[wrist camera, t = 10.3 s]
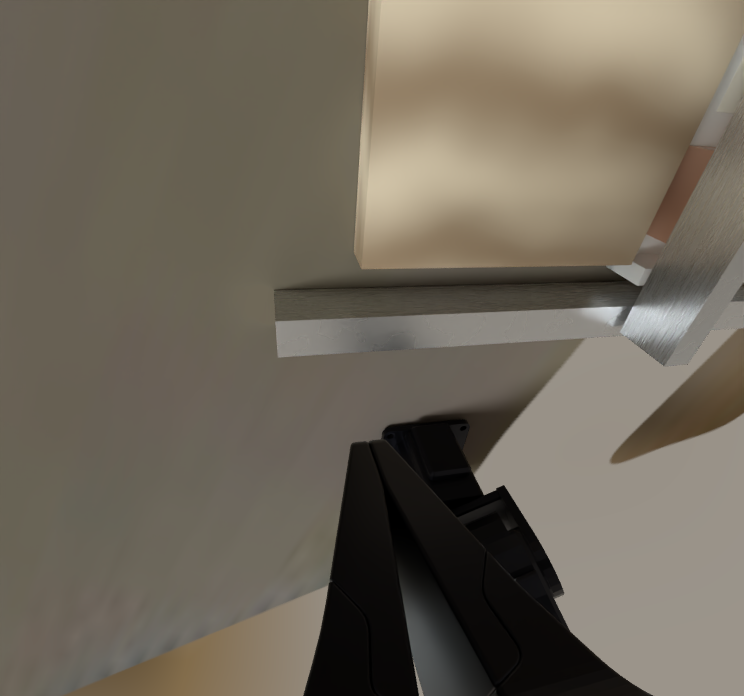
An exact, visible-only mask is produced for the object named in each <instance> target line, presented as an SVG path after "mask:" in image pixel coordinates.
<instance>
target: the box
mask: <svg viewBox="0 0 744 696" xmlns="http://www.w3.org/2000/svg"><path fill="white" fill-rule="evenodd" d="M743 57H744V34H743V37H742V39H741V41H740V43H739V45H738V47H737V49H736V51H735V53H734V55H733V57H732V59H731V61H730V63H729V65H728V67H727V69H726V71H725V73H724V76H723V78H722V80H721V82H720V84H719V86H718V88H717V90H716V92H715V94H714V96H713V98H712V100H711V102H710V104H709V106H708V108H707V110H706V112H705V115H704V117H703V119H702V121H701V123H700V125H699V127H698V129H697V131H696V133H695V135H694V137H693V139H692V141H691V143H690V145H694V146H709V147H717V145H718V143H719V141H720V139H721V137H722V135H723V133H724V131H725V130H726V128H727V126H728V124H729V122H730V120H731V118H732V116H733V114H732V113H724V112H716V111H717V109H718V107H719V105H720V103H721V101H722V99H723V97H724V95H725V93H726V91H727V89H728V87H729V85H730V83H731V81H732V79H733V77H734V75H735V73H736V71H737V69H738V67H739V65H740V63H741V61H742V59H743ZM665 244H666V243H664V242H662V241H660V240H657V239H655V238H653V237H651V236H649V235H647V234H646V236H645V238H644V240H643V242H642V244H641V246H640V248H639V250H638V252H637V254H636V256H635V258H634V260H633V262H632V264H631V265H607V266H606V267H607V268H609V269H611V270H612V271H614V272H616V273H617V274H619V275H620V276H622V277H624V278H625V279H627V280H629V281H630V282H632V283H634V284H635V285H637V286H642V285H644V284H645V282H646V281H647V279H648V277H649V275H650V273H651V271H652V269H653V267H654V265H655V263H656V261H657V260H658V258H659V256H660V254H661V252H662V250H663V248H664V246H665ZM743 283H744V282H743Z"/></svg>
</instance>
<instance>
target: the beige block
mask: <svg viewBox="0 0 744 696" xmlns="http://www.w3.org/2000/svg"><path fill="white" fill-rule="evenodd" d="M743 95H744V57H743V59H742V61H741V63H740V65H739V67H738V69H737V71H736V73H735V75H734V77H733V79H732V81H731V83H730V85H729V87H728V89H727V91H726V93H725V95H724V97H723V99H722V101H721V103H720V105H719V107H718V109H717V111H716V112H724V113H732V114H734V112H735V110H736V108H737V107H738V105H739V103H740V101H741V99H742V97H743Z"/></svg>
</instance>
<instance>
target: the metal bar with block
mask: <svg viewBox="0 0 744 696" xmlns="http://www.w3.org/2000/svg"><path fill="white" fill-rule="evenodd" d="M743 282H744V95H743V97H742V99H741V101H740V103H739V105H738V107H737V108H736V110H735V112H734V114H733V116H732V118H731V120H730V122H729V124H728V126H727V128H726V130H725V131H724V133H723V135H722V137H721V139H720V141H719V143H718V145H717V147H716V149H715V151H714V152H713V154H712V156H711V158H710V160H709V162H708V164H707V166H706V168H705V170H704V172H703V173H702V175H701V177H700V179H699V181H698V183H697V185H696V187H695V189H694V191H693V193H692V195H691V196H690V198H689V200H688V202H687V204H686V206H685V208H684V210H683V212H682V214H681V216H680V217H679V219H678V221H677V223H676V225H675V227H674V229H673V231H672V233H671V235H670V237H669V238H668V240H667V242H666V244H665V246H664V248H663V250H662V252H661V254H660V256H659V258H658V260H657V261H656V263H655V265H654V267H653V269H652V271H651V273H650V275H649V277H648V279H647V281H646V282H645V284H644V286H643V288H642V290H641V292H640V294H639V296H638V298H637V300H636V302H635V303H634V305H633V307H632V309H631V311H630V313H629V315H628V317H627V319H626V321H625V323H624V325H623V326H622V328H621V330H620V333H622V334H623V335H624V336H625V337H627V338H628V339H629V340H631V341H632V342H633V343H635V344H636V345H637V346H638V347H640V348H641V349H642V350H644V351H645V352H646V353H647V354H649V355H650V356H651V357H653V358H654V359H655V360H657V361H658V362H659V363H661V364H662V365H663V366H674V365H686V364H688V363H689V362H690V360H691V359H692V357H693V356H694V354H695V353H696V351H697V350H698V348H699V347H700V346H701V344H702V343H703V341H704V339H705V338H706V336H707V335H708V334H709V332H710V331H711V329H712V328H713V326H714V325H715V323H716V322H717V321H718V319H719V318H720V316H721V315H722V313H723V312H724V310H725V309H726V307H727V306H728V304H729V303H730V301H731V300H732V298H733V297H734V295H735V294H736V292H737V291H738V290H739V288H740V287H741V285H742V284H743Z"/></svg>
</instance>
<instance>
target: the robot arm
mask: <svg viewBox="0 0 744 696" xmlns="http://www.w3.org/2000/svg"><path fill="white" fill-rule="evenodd" d="M469 428H470V426H469V424H468V422H467V420H453V421H444V422H435V423H426V424H416V425H407V426H398V427H389V428H386V429H385V430H384V431H383V432H382V438H381V440H372V441H369V443H368V442H366V441H364V442H355V443H352V444H351V447H350V454H349V460H348V466H347V473H346V479H345V486H344V492H343V498H342V505H341V511H340V517H339V524H338V530H337V536H336V543H335V549H334V556H333V562H332V568H331V575H330V583H329V586H328V592H327V599H326V605H325V611H324V615H323V621H322V626H321V631H320V635H319V639H318V643H317V647H316V651H315V655H314V659H313V663H312V666H311V670H310V674H309V677H308V681H307V684H306V688H305V691H304V695H303V696H419V693H418V688H417V682H416V676H415V670H414V664H413V660H414V663H415V667H416V670H417V674H418V677H419V681H420V684H421V687H422V691H423V694H424V696H653V695H651V694H649V693H647V692H645V691H643V690H642V689H640V688H639V687H637V686H635V685H633V684H632V683H630V682H629V681H628V680H626V679H625V678H623V677H622V676H620V675H619V674H618V673H617V672H615V671H614V670H613V669H611V668H610V667H609V666H608V665H607V664H605V663H604V662H603V661H602V660H601V659H600V658H599V657H597V656H596V655H595V654H594V653H593V652H592V651H591V650H590V649H589V648H587V647H586V646H585V645H584V644H583V643H582V642H581V641H580V640H579V639H578V638H577V637H575V636H574V635H573V634H572V633H571V632H570V630H569V628H568V626H567V624H566V622H565V620H564V618H563V616H562V614H561V612H560V610H559V608H558V606H557V604H556V602H555V600H554V599H555V598H557V597H560V596H562V595H564V592H563V588H562V586H561V583H560V581H559V579H558V576H557V574H556V572H555V570H554V568H553V566H552V564H551V562H550V560H549V558H548V556H547V555H546V553H545V551H544V549H543V547H542V545H541V544H540V542H539V540H538V539H537V537H536V536H535V534H534V532H533V530H532V529H531V527H530V526H529V524H528V522H527V521H526V519H525V518H524V516H523V514H522V513H521V511H520V510H519V508H518V507H517V505H516V503H515V502H514V500H513V499H512V497H511V496H510V494H509V492H508V491H507V489H506V488H505V486H504V485H503V486H501V487H499V488H496V491H493V492H491V493H489V494H487V495H483V492H482V490H481V489H480V486H479V484H478V482H477V481H476V479H475V476H474V474H473V472H472V471H471V467H470V465H469V463H468V461H467V459H466V457H465V455H464V453H463V451H462V450H463V447H464V444H465V440H466V437H467V434H468V431H469ZM389 434H390V435H389ZM412 657H413V658H412Z"/></svg>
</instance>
